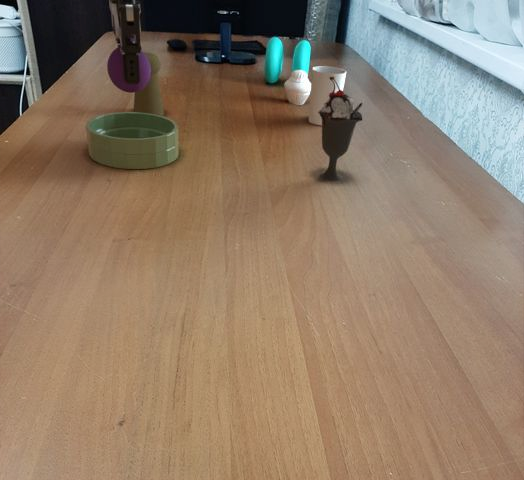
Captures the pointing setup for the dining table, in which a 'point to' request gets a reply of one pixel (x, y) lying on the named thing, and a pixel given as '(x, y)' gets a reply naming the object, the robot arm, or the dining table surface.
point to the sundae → (337, 128)
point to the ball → (118, 75)
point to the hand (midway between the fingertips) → (129, 77)
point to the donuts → (276, 58)
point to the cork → (150, 91)
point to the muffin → (297, 87)
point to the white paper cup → (323, 89)
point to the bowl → (132, 140)
